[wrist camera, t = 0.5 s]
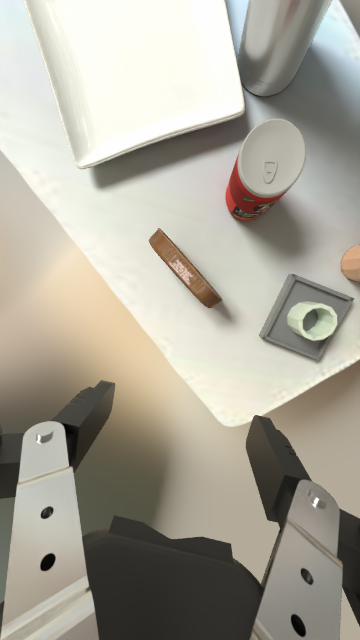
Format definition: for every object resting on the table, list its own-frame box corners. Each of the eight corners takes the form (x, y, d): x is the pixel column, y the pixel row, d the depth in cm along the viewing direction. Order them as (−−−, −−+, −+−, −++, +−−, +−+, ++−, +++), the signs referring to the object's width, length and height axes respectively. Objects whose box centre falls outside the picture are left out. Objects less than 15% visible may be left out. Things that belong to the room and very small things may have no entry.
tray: (288, 274, 36) (293, 274, 34) (346, 297, 36) (354, 298, 34) (259, 335, 38) (262, 338, 37) (313, 357, 38) (318, 360, 37)
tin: (220, 296, 38) (227, 300, 29) (207, 307, 38) (211, 315, 30) (165, 233, 36) (156, 218, 28) (152, 245, 37) (140, 235, 29)
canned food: (228, 227, 35) (244, 203, 24) (220, 177, 34) (233, 128, 23) (274, 216, 35) (310, 186, 24) (267, 164, 33) (303, 108, 22)
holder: (296, 296, 36) (309, 298, 32) (327, 309, 36) (344, 312, 32) (281, 326, 37) (292, 332, 33) (311, 338, 37) (325, 345, 33)
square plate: (87, 181, 36) (75, 169, 32) (30, -7, 31) (7, -47, 28) (241, 129, 33) (248, 109, 29) (201, -87, 28) (202, -144, 25)
